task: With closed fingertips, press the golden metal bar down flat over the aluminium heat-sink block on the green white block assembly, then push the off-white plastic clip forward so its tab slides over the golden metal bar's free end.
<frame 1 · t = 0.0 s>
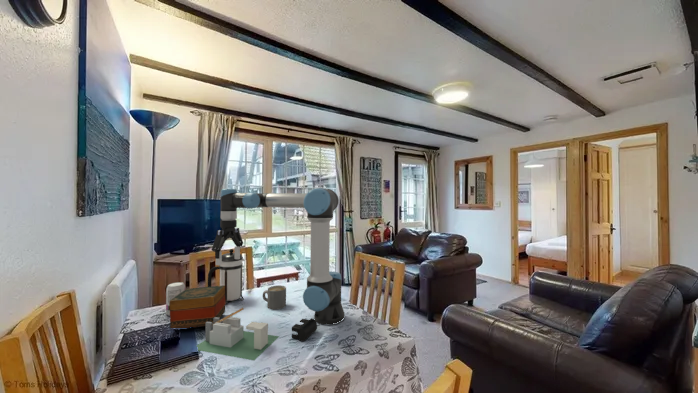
hand: (228, 262, 138), 28 cm above the table, fingers open, 13 cm apart
supplement can: (175, 313, 143), on the table
coffee press: (228, 301, 160), on the table
end cap: (304, 338, 118), on the table
clip: (256, 335, 110), point 5 cm above the table, slide at 0.0 cm
golden metal bar: (226, 317, 114), point 11 cm above the table, hinge at 30.0°
green white block assembly: (237, 345, 112), on the table
decorative box: (199, 323, 132), on the table
coffee mug: (274, 306, 154), on the table
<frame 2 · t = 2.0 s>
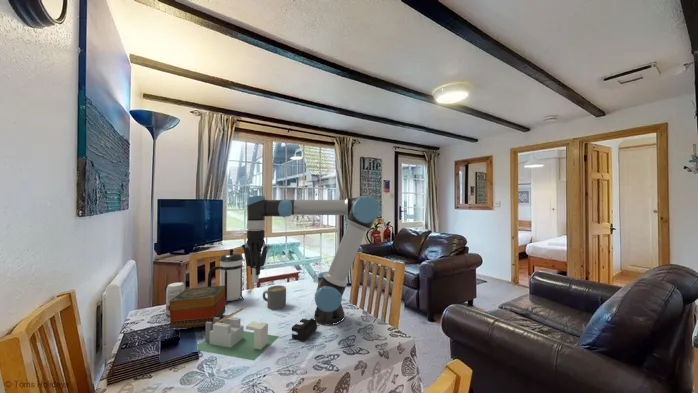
hand: (255, 282, 123), 22 cm above the table, fingers closed
nothing on the table moved.
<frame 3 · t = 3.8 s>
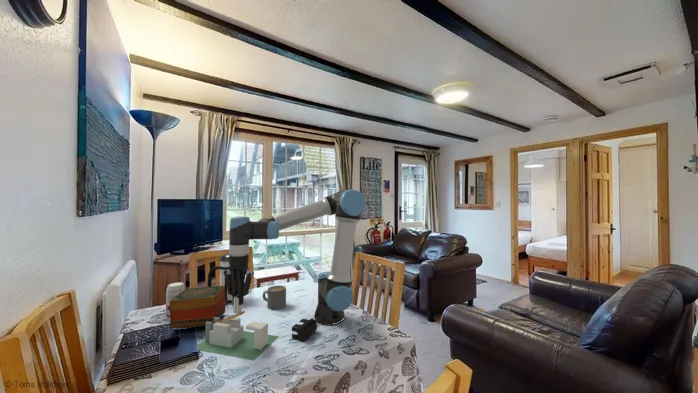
hand: (237, 312, 112), 14 cm above the table, fingers closed
golden metal bar: (226, 319, 113), point 10 cm above the table, hinge at 24.9°, touching gripper
everything else where it was.
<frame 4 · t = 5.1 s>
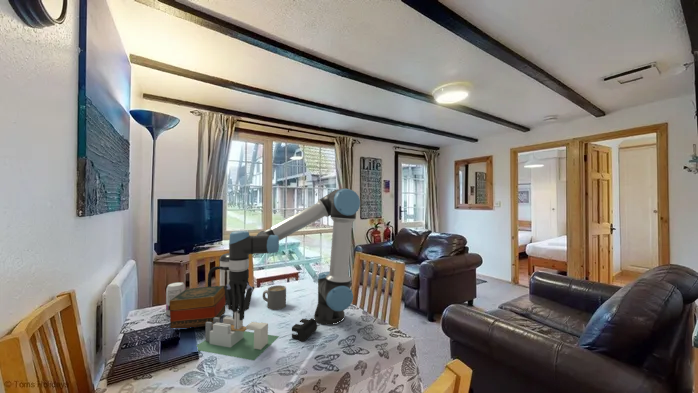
hand: (238, 327, 112), 8 cm above the table, fingers closed, pressing on golden metal bar
golden metal bar: (228, 326, 113), point 7 cm above the table, hinge at 1.1°, touching gripper
everything else where it was.
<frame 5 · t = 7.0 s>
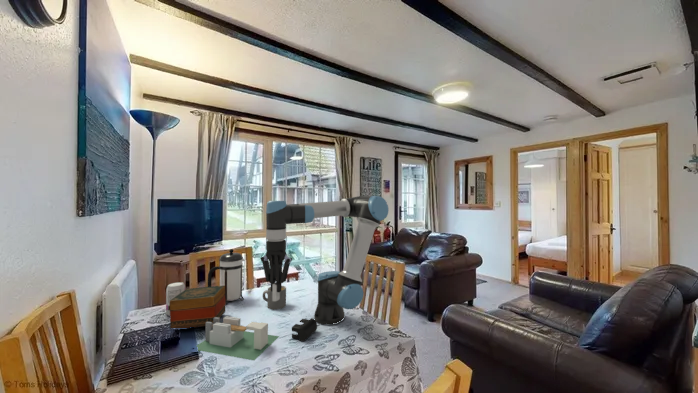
hand: (276, 299, 108), 20 cm above the table, fingers closed
golden metal bar: (228, 326, 113), point 7 cm above the table, hinge at 1.1°
everything else where it was.
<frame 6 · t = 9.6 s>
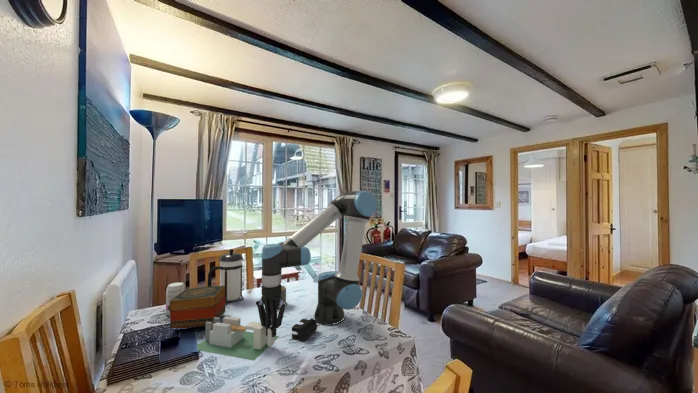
hand: (271, 344, 108), 3 cm above the table, fingers closed
clip: (256, 334, 110), point 5 cm above the table, slide at 0.2 cm, touching gripper
everything else where it was.
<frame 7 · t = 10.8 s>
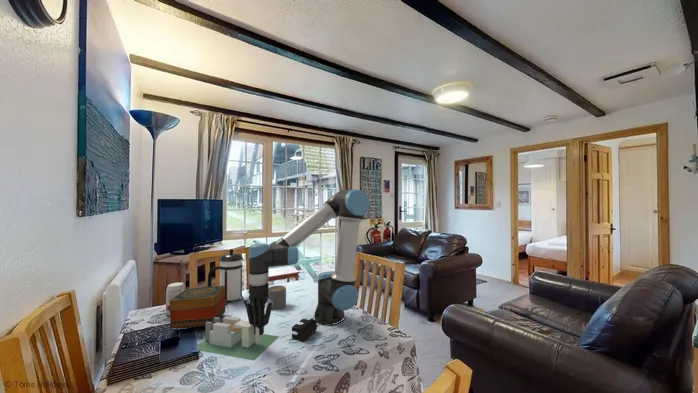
hand: (258, 342, 109), 3 cm above the table, fingers closed
clip: (244, 333, 111), point 5 cm above the table, slide at 5.5 cm, touching gripper, golden metal bar
golden metal bar: (228, 326, 113), point 7 cm above the table, hinge at 1.1°, touching clip
everything else where it was.
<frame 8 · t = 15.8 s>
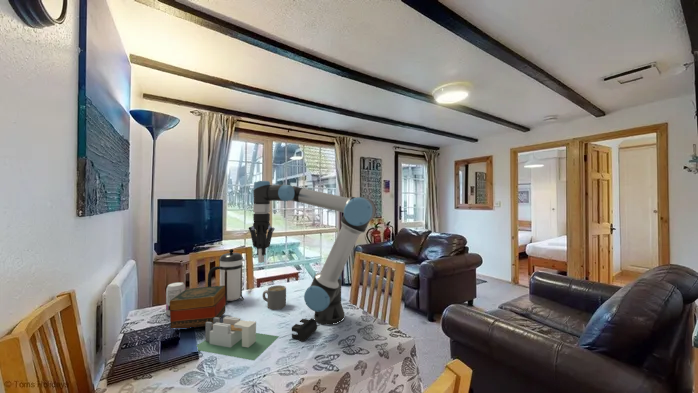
hand: (261, 261, 132), 29 cm above the table, fingers closed
clip: (244, 333, 111), point 5 cm above the table, slide at 5.5 cm, touching golden metal bar
everything else where it was.
at the end: golden metal bar at +1° (first picture: +30°); clip slide at 5.5 cm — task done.
